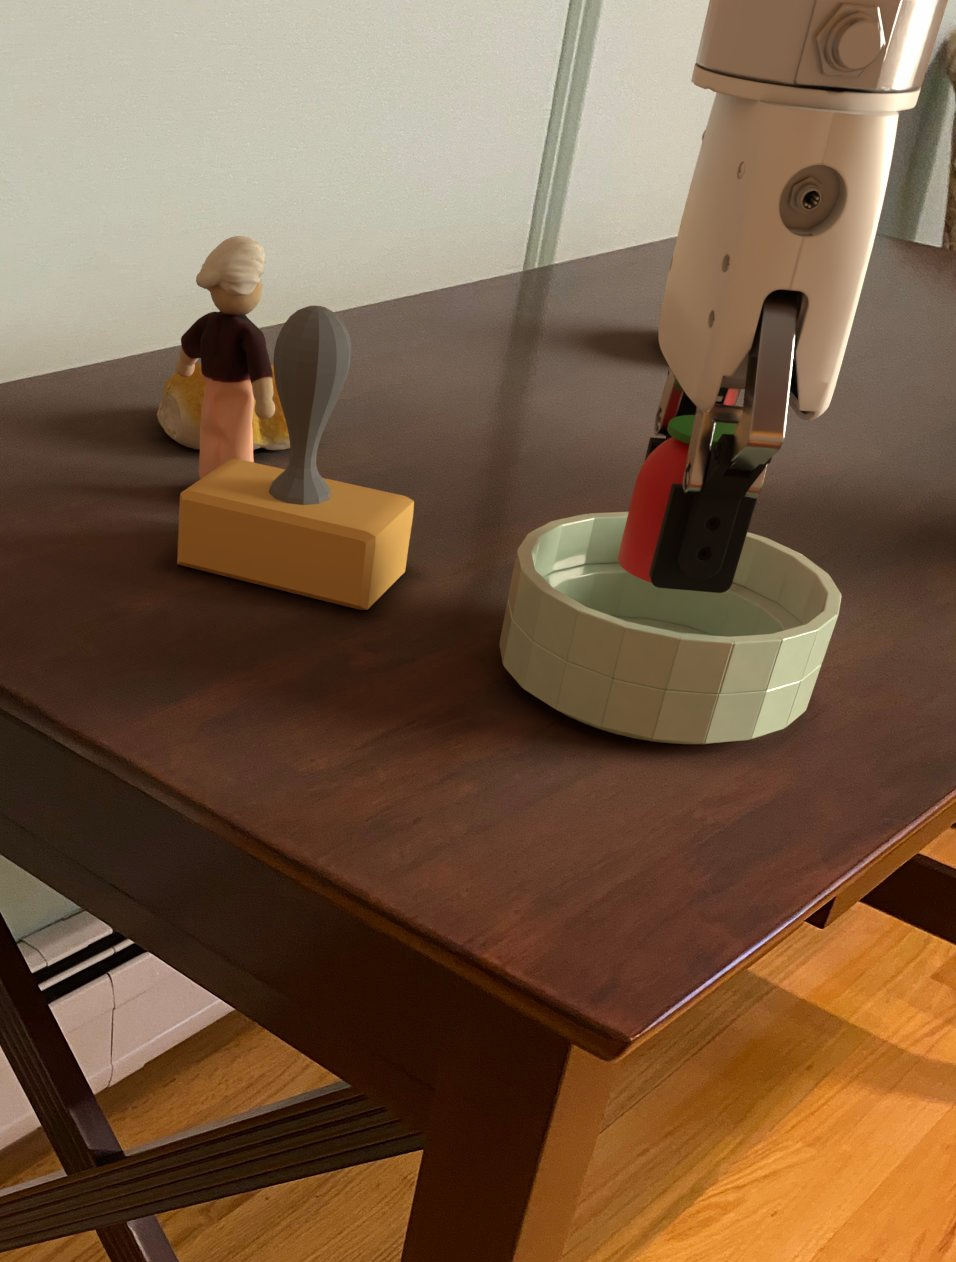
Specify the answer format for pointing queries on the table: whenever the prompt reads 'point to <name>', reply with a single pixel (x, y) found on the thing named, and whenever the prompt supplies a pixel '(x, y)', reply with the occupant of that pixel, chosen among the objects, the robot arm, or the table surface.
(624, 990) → the table surface
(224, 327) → the grandmother figurine
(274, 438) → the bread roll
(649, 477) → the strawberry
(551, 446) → the table surface
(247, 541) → the rubber stamp
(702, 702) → the bowl
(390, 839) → the table surface
